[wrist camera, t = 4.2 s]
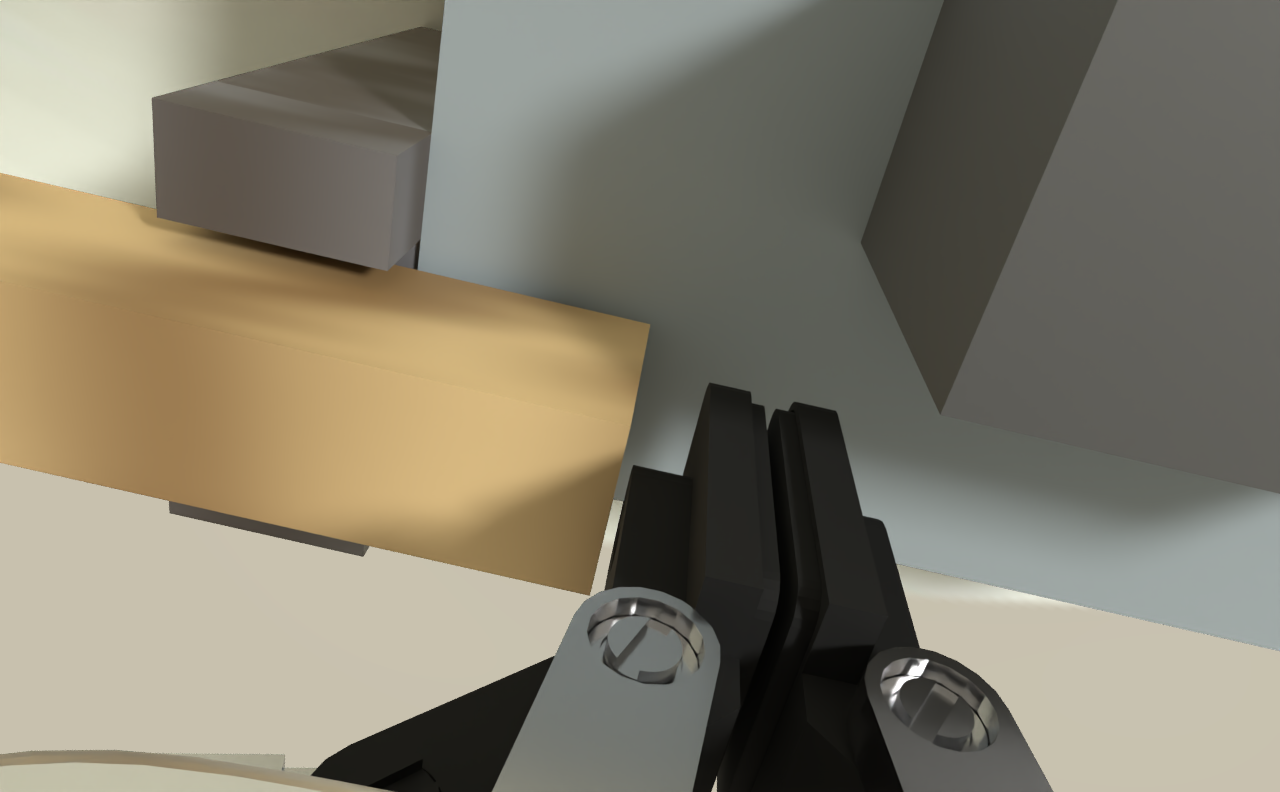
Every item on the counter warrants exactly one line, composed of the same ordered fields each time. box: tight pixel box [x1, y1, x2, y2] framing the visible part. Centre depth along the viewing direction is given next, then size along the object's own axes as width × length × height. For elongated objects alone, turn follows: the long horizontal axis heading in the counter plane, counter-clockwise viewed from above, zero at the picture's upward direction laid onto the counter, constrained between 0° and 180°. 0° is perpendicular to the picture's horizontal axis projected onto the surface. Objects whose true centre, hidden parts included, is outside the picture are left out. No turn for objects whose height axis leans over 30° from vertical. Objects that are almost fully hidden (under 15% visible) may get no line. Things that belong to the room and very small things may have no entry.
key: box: [0, 173, 650, 595], centre depth 11 cm, size 10×2×4 cm, turn 78°
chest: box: [152, 27, 442, 556], centre depth 15 cm, size 25×15×11 cm, turn 78°
